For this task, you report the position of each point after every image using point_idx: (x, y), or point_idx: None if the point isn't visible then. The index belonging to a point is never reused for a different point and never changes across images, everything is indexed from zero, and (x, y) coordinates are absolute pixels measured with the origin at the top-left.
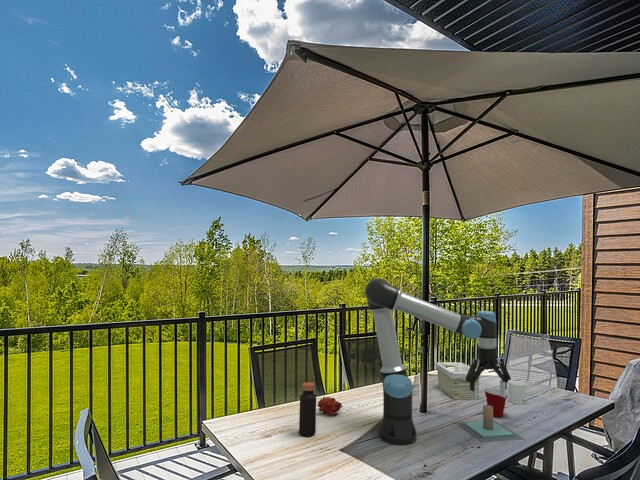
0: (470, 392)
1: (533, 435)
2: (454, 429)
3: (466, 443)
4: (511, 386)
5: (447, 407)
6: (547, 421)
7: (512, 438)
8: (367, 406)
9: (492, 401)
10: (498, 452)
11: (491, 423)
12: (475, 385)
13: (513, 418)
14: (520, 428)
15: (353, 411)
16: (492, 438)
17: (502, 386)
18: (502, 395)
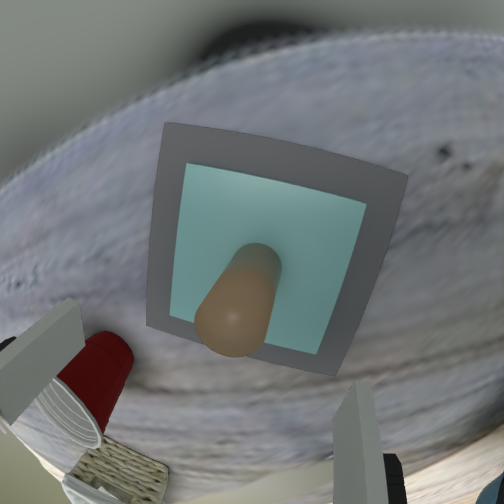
0: (112, 457)
1: (98, 158)
2: (387, 334)
3: (461, 203)
4: None
5: (231, 455)
6: (5, 243)
7: (215, 146)
8: (435, 488)
9: (102, 387)
10: (402, 72)
11: (252, 254)
12: (380, 499)
13: None
14: (97, 232)
15: (484, 468)
16: (318, 182)
17: (24, 369)
18: (74, 327)
